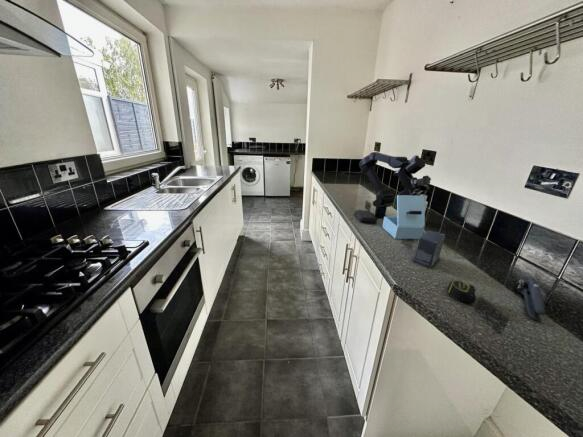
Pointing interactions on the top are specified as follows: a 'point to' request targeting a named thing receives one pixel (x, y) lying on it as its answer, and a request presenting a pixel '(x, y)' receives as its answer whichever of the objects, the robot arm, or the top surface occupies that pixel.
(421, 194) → the bottle
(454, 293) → the tape measure
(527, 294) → the can opener
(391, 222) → the light blue box
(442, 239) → the small box
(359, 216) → the carrying case
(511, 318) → the top surface
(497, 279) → the top surface
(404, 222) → the lid
